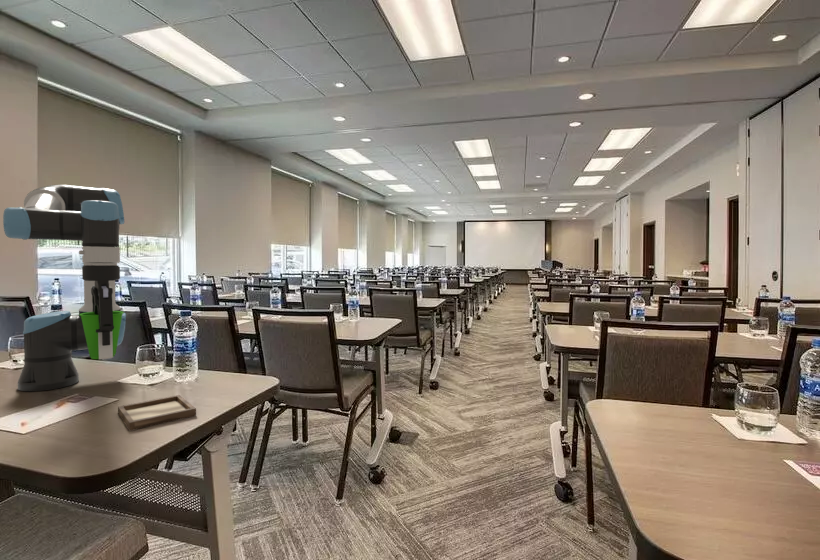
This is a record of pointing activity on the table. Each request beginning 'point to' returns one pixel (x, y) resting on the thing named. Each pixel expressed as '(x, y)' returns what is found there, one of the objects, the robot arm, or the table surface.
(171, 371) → the table surface
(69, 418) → the table surface
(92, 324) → the cup
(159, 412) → the tray
